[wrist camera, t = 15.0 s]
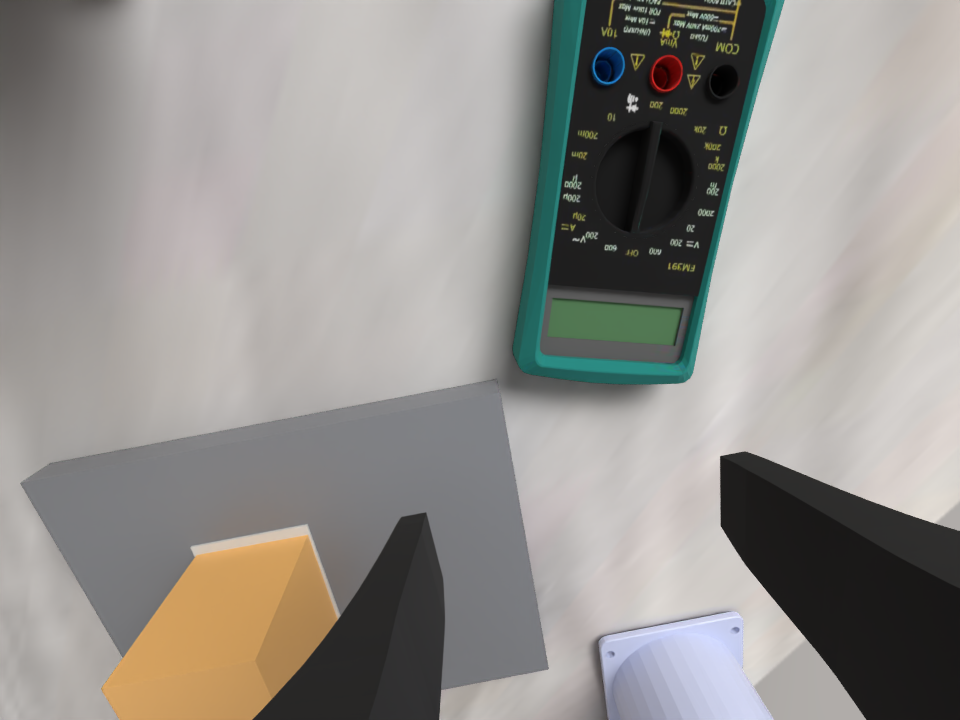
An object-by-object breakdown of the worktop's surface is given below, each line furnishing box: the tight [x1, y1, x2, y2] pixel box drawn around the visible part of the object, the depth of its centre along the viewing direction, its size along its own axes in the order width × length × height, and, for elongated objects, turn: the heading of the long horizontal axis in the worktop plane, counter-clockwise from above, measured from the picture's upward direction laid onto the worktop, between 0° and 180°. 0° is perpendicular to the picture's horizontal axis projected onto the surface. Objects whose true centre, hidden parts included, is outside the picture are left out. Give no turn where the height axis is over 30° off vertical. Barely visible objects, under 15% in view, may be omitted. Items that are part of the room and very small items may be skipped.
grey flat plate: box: [20, 379, 549, 690], centre depth 22 cm, size 16×20×2 cm
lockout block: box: [101, 535, 338, 720], centre depth 19 cm, size 5×5×6 cm
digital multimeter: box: [513, 0, 784, 384], centre depth 17 cm, size 7×15×3 cm, turn 175°
